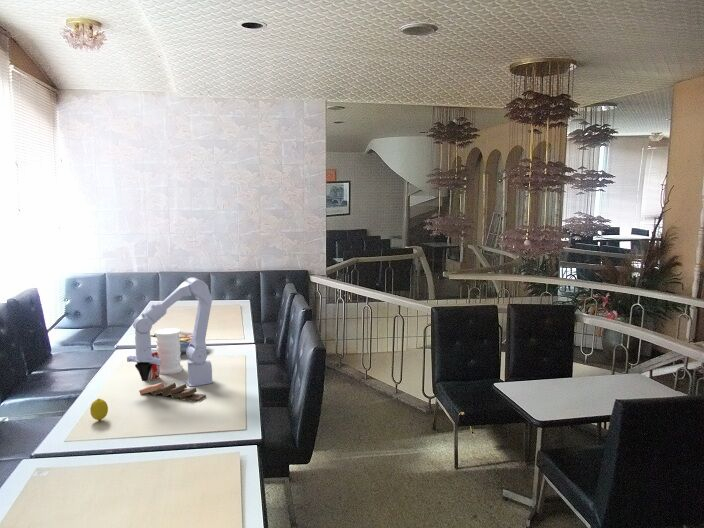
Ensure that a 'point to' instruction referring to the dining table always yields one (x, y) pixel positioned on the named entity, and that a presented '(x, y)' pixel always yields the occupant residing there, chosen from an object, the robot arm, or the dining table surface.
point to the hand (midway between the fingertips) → (145, 380)
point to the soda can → (154, 367)
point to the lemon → (99, 409)
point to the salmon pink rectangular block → (151, 388)
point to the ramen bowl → (183, 340)
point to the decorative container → (169, 350)
